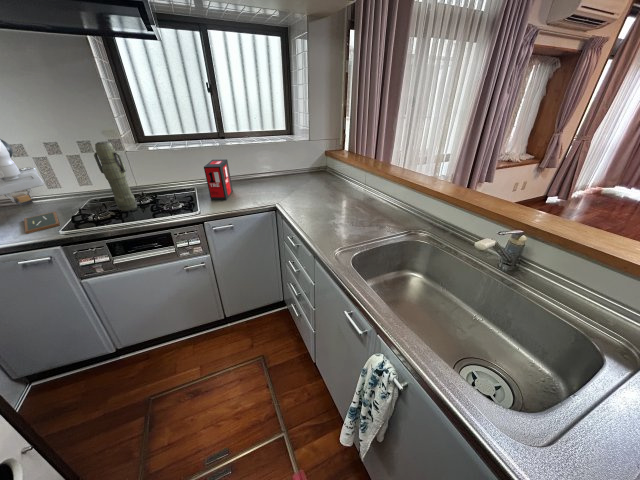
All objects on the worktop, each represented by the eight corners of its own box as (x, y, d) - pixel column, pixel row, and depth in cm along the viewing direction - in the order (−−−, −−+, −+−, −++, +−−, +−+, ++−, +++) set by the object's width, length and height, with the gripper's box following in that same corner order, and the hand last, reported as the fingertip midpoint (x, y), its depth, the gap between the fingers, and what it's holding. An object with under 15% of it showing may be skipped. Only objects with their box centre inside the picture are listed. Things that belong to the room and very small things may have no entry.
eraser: (16, 204, 128) (11, 196, 126) (27, 201, 131) (22, 193, 129) (22, 205, 126) (17, 198, 124) (33, 203, 129) (28, 195, 127)
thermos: (137, 210, 146) (112, 143, 128) (113, 212, 144) (84, 144, 126) (142, 204, 153) (119, 140, 136) (119, 206, 151) (93, 141, 133)
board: (25, 220, 135) (23, 218, 135) (56, 213, 143) (55, 211, 142) (26, 233, 123) (24, 231, 122) (60, 225, 130) (58, 223, 130)
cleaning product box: (226, 200, 158) (219, 166, 148) (211, 200, 157) (203, 166, 147) (232, 190, 172) (227, 159, 162) (218, 191, 172) (212, 159, 162)
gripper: (30, 165, 130) (45, 192, 137) (-30, 176, 114) (-10, 206, 121) (37, 166, 128) (52, 194, 135) (-24, 178, 112) (-3, 209, 119)
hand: (22, 200), depth 128 cm, fingers closed on eraser, 4 cm apart
